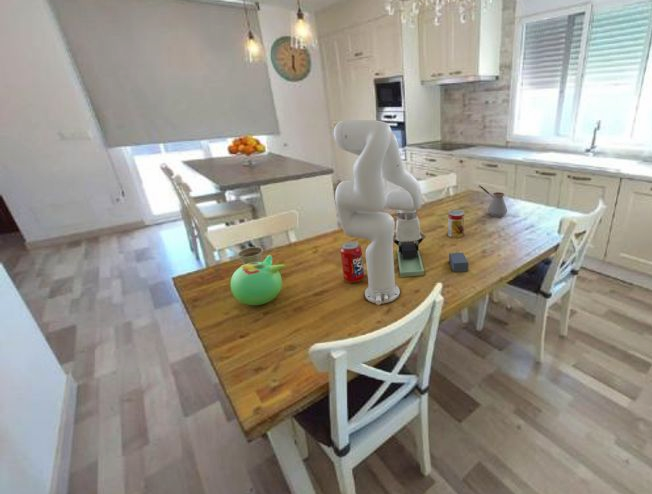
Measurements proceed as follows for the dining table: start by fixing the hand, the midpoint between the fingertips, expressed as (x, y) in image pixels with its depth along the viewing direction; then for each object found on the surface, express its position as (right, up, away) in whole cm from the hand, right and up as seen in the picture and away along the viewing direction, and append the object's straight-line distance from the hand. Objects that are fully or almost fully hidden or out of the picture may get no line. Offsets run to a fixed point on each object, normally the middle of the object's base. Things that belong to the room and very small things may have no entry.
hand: (408, 252), depth 142 cm
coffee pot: (+48, +21, +52) cm, 73 cm away
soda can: (-21, -10, -15) cm, 28 cm away
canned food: (+23, +8, +23) cm, 33 cm away
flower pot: (-64, -7, -8) cm, 65 cm away
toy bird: (-52, -15, -27) cm, 60 cm away
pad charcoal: (0, -1, 0) cm, 1 cm away
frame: (+1, -4, -4) cm, 6 cm away
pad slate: (+21, -5, -7) cm, 23 cm away
